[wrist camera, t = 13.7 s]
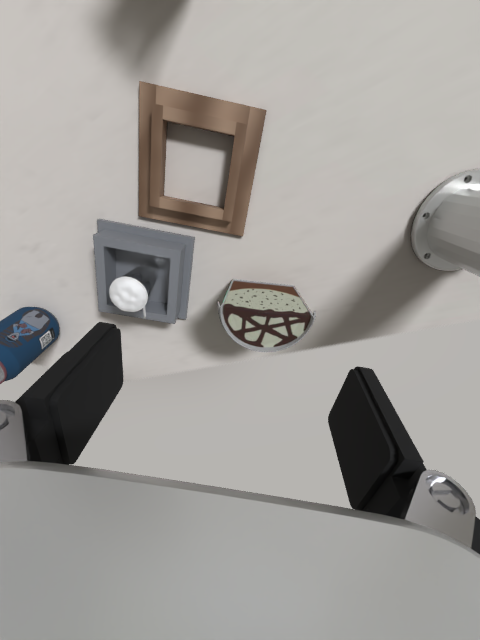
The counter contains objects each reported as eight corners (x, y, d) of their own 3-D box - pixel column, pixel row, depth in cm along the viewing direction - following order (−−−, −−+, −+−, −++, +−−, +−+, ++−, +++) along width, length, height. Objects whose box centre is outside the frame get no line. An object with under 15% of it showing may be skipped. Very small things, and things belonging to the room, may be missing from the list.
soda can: (24, 336, 47) (-39, 385, 37) (15, 300, 44) (-58, 342, 33) (66, 342, 48) (15, 392, 37) (60, 307, 44) (2, 351, 34)
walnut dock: (266, 111, 31) (267, 107, 30) (242, 235, 38) (242, 238, 36) (141, 82, 30) (134, 77, 29) (140, 215, 37) (135, 217, 35)
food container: (219, 314, 44) (213, 351, 36) (222, 278, 41) (215, 308, 33) (295, 321, 45) (307, 360, 36) (303, 286, 42) (319, 318, 33)
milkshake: (157, 295, 42) (134, 330, 33) (127, 272, 40) (94, 302, 32) (175, 275, 40) (155, 305, 32) (144, 250, 39) (115, 275, 30)
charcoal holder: (194, 237, 38) (189, 244, 35) (186, 317, 45) (181, 331, 41) (99, 218, 37) (83, 224, 34) (104, 303, 44) (91, 316, 40)
